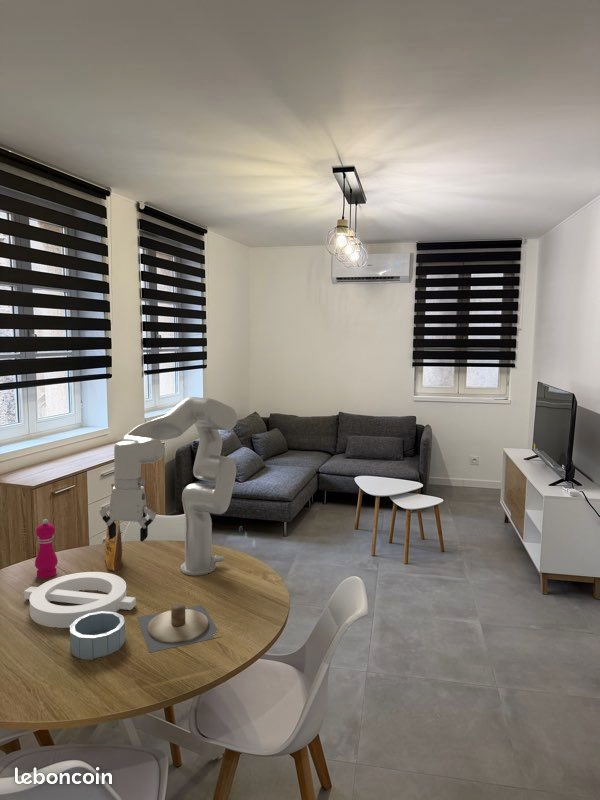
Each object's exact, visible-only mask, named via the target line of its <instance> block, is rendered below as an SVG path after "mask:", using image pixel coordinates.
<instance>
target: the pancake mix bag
mask: <svg viewBox="0 0 600 800" xmlns="http://www.w3.org/2000/svg"><path fill="white" fill-rule="evenodd" d="M110 486H111V489H112V488H113V487H114V483H112V484H110ZM108 516H109V517H110V512H109V515H108ZM120 522H121V521H115V522H114V523H116V536H115V537H114V538H112V539H109V535H108V526H107V525H106V533H105V543H104V552H103V553H104V559H105V562H106V567H107V570H109V571H113V572H116V571H117V570H119V569H120V568H121V566H122V557H123V543H122V533H121V525H120Z"/></svg>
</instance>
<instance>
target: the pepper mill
mask: <svg viewBox="0 0 600 800" xmlns="http://www.w3.org/2000/svg"><path fill="white" fill-rule="evenodd" d="M55 532H56V529H55V525H53V524H52V523H49V520H48V519H47V518H44V519H43V520H42V523H41V524H39V525H38V526H37V527H36V529H35V534H36V536H37V543H38V544H39V549H38V551H37V552H38V553H37V556H36V557H35V561H34V567H35V568H36V569H37V570H36V577H37V578H39V579H49V578H52V577H54V576H56V575H57V568H56V566H57V565H58V556H57V554H56V552H55V550H54V547H53V541H54V540H55V539H54V534H55Z"/></svg>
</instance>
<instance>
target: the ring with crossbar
mask: <svg viewBox="0 0 600 800" xmlns="http://www.w3.org/2000/svg"><path fill="white" fill-rule="evenodd" d="M79 590H82V591H79ZM97 590H98V592H103V593H95V592H85V591H97ZM104 593H106V594H104ZM23 598H24V599H23V600H29V616H30V618H31V619H32V620H33V622H35V623H37V624H38V625H41V626H44V627H49V628H55V627H57V629H59V628H60V629H61V628H62V629H67V628H69V629H70V625H71V624H72V623H73V622H74V621H75V620H76V619H77V618H79V617H82V616H84V615H86V614H89V613H94V612H99V611H109V612H116V613H118V611H119V610H128V611H131V610H133V608H134V607H135V606H136V603H137V601H136V599H137V598H136V597H133V596H127V582H126V581H125V579H123V578H122V577H121V576H119V575H116V574H114V573H109V572H102V571H84V572H76V573H70V574H66V575H61V576H58V577H55V578H53V579H50V580H48V581H45V582H44V583H42V584H40V585H39V586H29V587H28V588H26V589H25V590H24V591H23ZM51 602H57V603H58V602H59V603H65V604H66V603H68V604H76V605H58V604H54V603H51Z"/></svg>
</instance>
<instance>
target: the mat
mask: <svg viewBox="0 0 600 800" xmlns="http://www.w3.org/2000/svg"><path fill="white" fill-rule="evenodd" d="M185 609H190V610H195V611H198V612H201V613H202V614H204V615H205V616H206V617H207V619H208V628H207V630H206V631H205V632H204V633H203V634H202V635H201V636H199V637H197V638H195V639H192V640H189V641H186V642H179V643H167V642H161V641H158V640H156V639H154V638H152V637H151V636H150V635H149V633H148V624H149V622H150V621H151V620H152V619H153V618H154V617H155V616H157V615H159V614H161V613H163V612H164V611H163V612H158V613H152V614H148V615H142V616H138V617H137V620H138V623H139V626H140V629H141V633H142V635H143V638H144V640H145V643H146V647H147V649H148V652H149V653H155V652H159V651H163V650H167V649H172V648H173V649H174V648H178V647H181V646H187V645H191V644H195V643H201V642H204V641H209V640H214V639H213V638H214V637H213V636H215V635H216V634H215V632H216V630H217V631H219V630H218V628H217V626H216V625H215V623H214V621H213V620H212V617H211V616H210V614H209V613H208V611H207V609H206V608H205V606H204V604H201V605H196V606H195V605H194V606H190V607H185ZM216 633H217V632H216ZM213 634H215V635H213Z"/></svg>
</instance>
